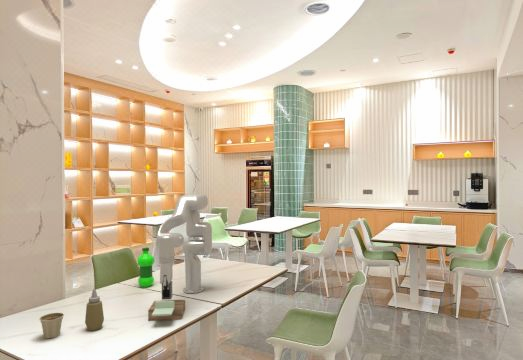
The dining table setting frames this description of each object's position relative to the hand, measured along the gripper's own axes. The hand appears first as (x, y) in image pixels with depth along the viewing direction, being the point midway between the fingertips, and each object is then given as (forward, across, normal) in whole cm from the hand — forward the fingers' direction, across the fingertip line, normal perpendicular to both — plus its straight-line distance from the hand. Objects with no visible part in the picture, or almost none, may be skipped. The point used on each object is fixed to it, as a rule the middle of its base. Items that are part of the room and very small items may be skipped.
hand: (167, 295), depth 179 cm
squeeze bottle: (+10, +13, -31) cm, 35 cm away
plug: (+1, 0, 0) cm, 1 cm away
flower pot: (+10, +19, -47) cm, 52 cm away
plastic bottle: (+10, -53, -23) cm, 59 cm away
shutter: (+5, +11, 0) cm, 12 cm away
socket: (+10, 0, 0) cm, 10 cm away
